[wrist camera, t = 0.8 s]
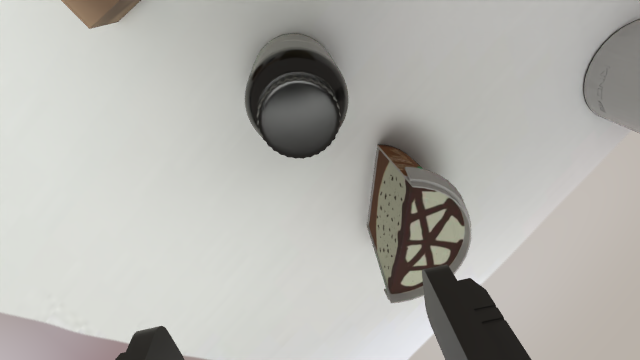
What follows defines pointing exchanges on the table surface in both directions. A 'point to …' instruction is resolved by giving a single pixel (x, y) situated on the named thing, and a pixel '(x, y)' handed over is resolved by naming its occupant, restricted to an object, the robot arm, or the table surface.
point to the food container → (414, 223)
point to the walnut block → (100, 10)
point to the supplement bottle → (296, 96)
